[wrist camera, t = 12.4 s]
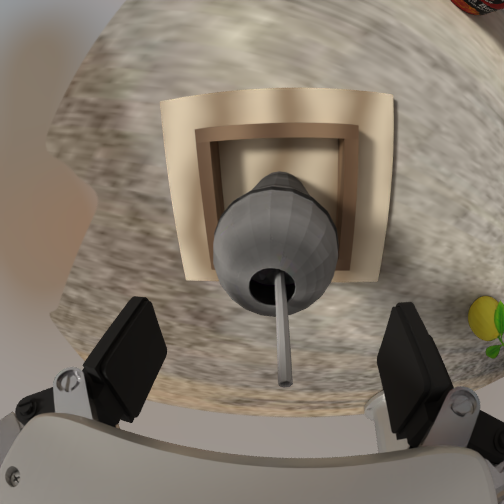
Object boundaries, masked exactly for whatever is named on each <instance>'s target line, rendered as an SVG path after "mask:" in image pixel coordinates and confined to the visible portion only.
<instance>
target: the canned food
mask: <svg viewBox="0 0 504 504" xmlns="http://www.w3.org/2000/svg"><path fill="white" fill-rule="evenodd" d="M451 1H452V2H453V3H454V4H455V5H456V6H458V7H459V8H461V9H462V10H464V11H465V12H467V13H470V14H474V15H484V14H487V13H490V12H493V11H497V10H500V9H504V0H451Z"/></svg>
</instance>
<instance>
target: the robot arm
mask: <svg viewBox="0 0 504 504" xmlns="http://www.w3.org/2000/svg"><path fill="white" fill-rule="evenodd" d="M166 355H167V347H166V344H165V342H164V339H163V336H162V333H161V330H160V327H159V324H158V321H157V318H156V315H155V311H154V308H153V305H152V303H151V302H150V301H149V300H148V299H147V298H146V297H136V296H134V297H132V298H131V299H130V301H129V302H128V303H127V304H126V306H125V307H124V308H123V310H122V311H121V312H120V314H119V315H118V316H117V318H116V319H115V320H114V322H113V323H112V324H111V326H110V327H109V328H108V330H107V331H106V333H105V334H104V335H103V337H102V338H101V339H100V341H99V342H98V344H97V345H96V346H95V348H94V349H93V351H92V352H91V354H90V355H89V356H88V358H87V359H86V361H85V362H84V364H83V366H84V369H83V370H82V371H81V370H80V369H79V368H77V367H68V368H66V369H63V370H62V371H60V372H59V373H58V374H57V375H56V377H55V379H54V382H53V387H52V388H49V389H46V390H43V391H41V392H38V393H35V394H32V395H29V396H27V397H25V398H23V399H22V400H21V401H20V402H19V403H18V405H17V407H16V411H15V413H14V412H11V413H10V414H8V415H7V416H5V417H4V418H3V419H1V420H0V504H504V422H502V421H500V420H498V419H496V418H494V417H492V416H491V415H489V414H487V413H485V412H483V411H481V410H480V401H479V398H478V396H477V394H476V393H475V392H474V391H473V390H471V389H470V388H467V387H456V388H454V387H453V385H452V382H451V380H450V377H449V375H448V372H447V370H446V367H445V365H444V363H443V360H442V358H441V356H440V354H439V351H438V349H437V347H436V345H435V343H434V341H433V338H432V337H431V336H430V335H429V334H428V332H427V330H426V328H425V326H424V324H423V322H422V320H421V318H420V316H419V314H418V312H417V310H416V308H415V306H414V304H413V303H412V302H403V303H398V304H397V305H396V307H393V308H392V311H391V314H390V318H389V321H388V325H387V328H386V331H385V334H384V338H383V341H382V344H381V347H380V350H379V353H378V356H377V365H378V369H379V373H380V377H381V382H382V386H383V391H381V392H379V393H378V394H376V395H375V396H373V397H372V398H371V399H370V400H369V401H368V402H367V403H366V405H365V407H364V413H365V416H366V417H367V418H368V419H370V420H373V421H374V423H375V430H376V438H377V445H378V453H377V454H368V455H358V456H348V457H332V458H272V457H257V456H246V455H237V454H228V453H221V452H214V451H208V450H202V449H197V448H191V447H186V446H181V445H177V444H172V443H168V442H164V441H160V440H156V439H152V438H148V437H145V436H141V435H138V434H135V433H131V432H128V431H125V430H121V429H120V427H119V424H118V423H119V421H120V419H121V420H123V421H126V422H130V423H132V422H133V420H134V418H135V417H138V415H139V414H140V412H141V409H142V407H143V405H144V403H145V401H146V398H147V396H148V394H149V392H150V390H151V387H152V385H153V383H154V381H155V379H156V377H157V375H158V372H159V370H160V368H161V366H162V364H163V362H164V360H165V358H166Z"/></svg>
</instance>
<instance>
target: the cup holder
mask: <svg viewBox="0 0 504 504" xmlns="http://www.w3.org/2000/svg"><path fill="white" fill-rule="evenodd" d="M160 107H161V118H162V128H163V138H164V147H165V155H166V163H167V171H168V178H169V185H170V192H171V199H172V205H173V211H174V217H175V223H176V229H177V235H178V240H179V246H180V251H181V256H182V261H183V266H184V271H185V276H186V280H197V281H219V279H218V276H217V273H216V271H215V268H214V264H213V243H214V232H215V229H216V227H217V224H218V221H219V219H220V216H221V215H222V213H223V212H224V211H225V210H226V209H227V207H228V206H229V205H230V204H231V203H232V202H233V201H234V200H235V199H237V198H239V197H241V196H242V195H244V194H246V193H247V192H249V191H251V190H252V189H253V188H254V187H255V186H256V185H257V184H258V183H259V181H260V180H261V179H262V178H264V177H265V176H267V175H269V174H270V173H273V172H278V171H281V172H287V173H290V174H292V175H294V176H295V177H296V178H297V179H298V180H299V181H300V182H301V183H302V184H303V186H304V187H305V189H306V190H307V192H308V193H309V195H310V196H311V197H313V198H314V199H315V200H316V201H317V202H318V203H319V204H321V205H322V206H323V207H324V208H325V209H326V210H327V211H328V213H329V215H330V216H331V218H332V220H333V222H334V224H335V226H336V228H337V234H338V242H339V250H338V260H337V264H336V269H335V273H334V277H333V279H332V281H331V282H378V277H379V272H380V266H381V261H382V255H383V248H384V242H385V235H386V228H387V220H388V212H389V202H390V192H391V180H392V164H393V135H394V111H393V95H391V94H384V93H376V92H368V91H358V90H345V89H329V88H266V89H249V90H237V91H226V92H217V93H209V94H202V95H195V96H188V97H182V98H177V99H171V100H166V101H161V102H160Z"/></svg>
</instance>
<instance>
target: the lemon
mask: <svg viewBox="0 0 504 504" xmlns="http://www.w3.org/2000/svg"><path fill="white" fill-rule="evenodd" d="M468 322H469V326H470V328H471V329H472V331H473V332H474V334H475V335H476V336H477V337H478V338H480V339H482V340H485V341H492V340H495V339H497V338H499V340H500V342H501V343H502V345H503V346H504V343H503V342H502V335H503V333H504V304H503V303H502V302H501V300H500V302H499V303H498V301H497V300H495V299H494V298H492V297H489V296H482V297H480V298H478V299H477V300H475V302H474V303H473V304H472V305H471V307H470V309H469V313H468ZM500 335H501V338H500ZM502 345H494V346H490V347H488V348H487V349H486V355H487V356H488V357H490V358H496V356H497V355H498V354H499V351H500V347H501V346H502Z"/></svg>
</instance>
